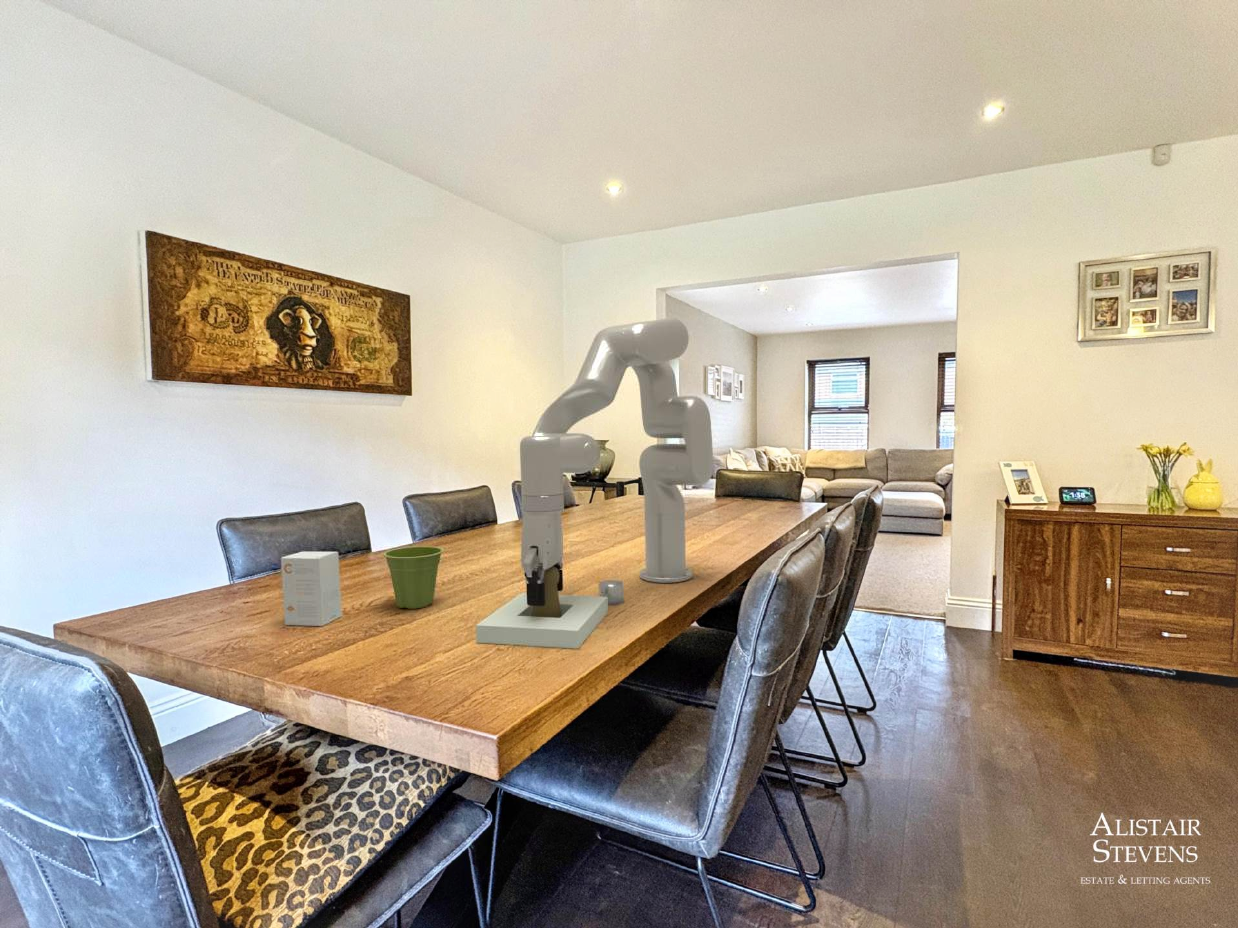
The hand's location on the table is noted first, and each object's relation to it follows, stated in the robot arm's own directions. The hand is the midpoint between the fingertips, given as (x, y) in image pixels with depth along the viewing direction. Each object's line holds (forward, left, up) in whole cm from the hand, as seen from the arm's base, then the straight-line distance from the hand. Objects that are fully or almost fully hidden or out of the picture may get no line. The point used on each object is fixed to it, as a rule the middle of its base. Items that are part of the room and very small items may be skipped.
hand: (545, 597), depth 112 cm
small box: (+4, -46, -5) cm, 46 cm away
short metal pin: (-17, +8, -5) cm, 20 cm away
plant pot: (-9, -32, -5) cm, 34 cm away
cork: (0, 0, -5) cm, 6 cm away
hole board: (0, 0, -5) cm, 5 cm away
